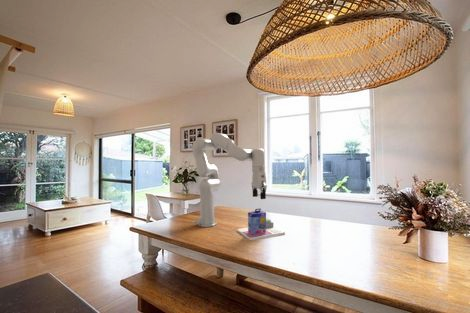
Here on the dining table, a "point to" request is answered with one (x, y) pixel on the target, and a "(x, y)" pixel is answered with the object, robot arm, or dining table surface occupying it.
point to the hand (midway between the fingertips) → (259, 197)
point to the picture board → (269, 232)
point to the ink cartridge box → (256, 222)
